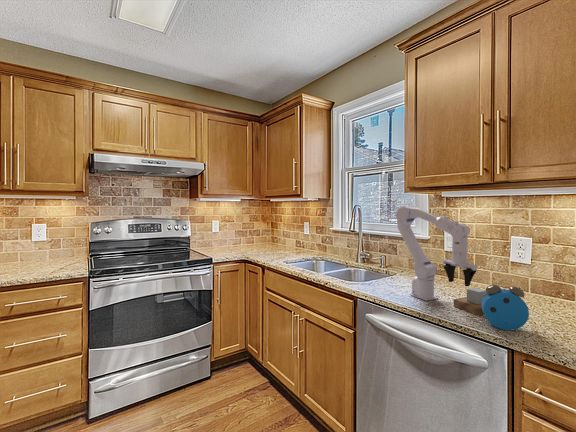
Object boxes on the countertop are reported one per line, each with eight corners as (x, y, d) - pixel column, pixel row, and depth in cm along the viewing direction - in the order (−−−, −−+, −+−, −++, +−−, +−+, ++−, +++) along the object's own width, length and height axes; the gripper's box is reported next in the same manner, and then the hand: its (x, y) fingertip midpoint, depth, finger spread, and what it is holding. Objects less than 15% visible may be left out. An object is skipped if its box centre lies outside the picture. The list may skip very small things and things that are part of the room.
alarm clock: (523, 327, 110) (525, 285, 109) (529, 334, 104) (530, 290, 103) (480, 321, 115) (481, 281, 114) (483, 328, 110) (484, 286, 109)
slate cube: (466, 300, 130) (466, 289, 130) (474, 299, 132) (474, 287, 132) (478, 304, 126) (478, 292, 125) (486, 302, 128) (486, 290, 127)
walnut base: (453, 306, 132) (453, 299, 132) (472, 302, 137) (472, 295, 137) (481, 315, 121) (481, 308, 121) (500, 311, 126) (500, 304, 126)
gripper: (438, 250, 138) (438, 280, 138) (469, 255, 124) (468, 289, 125) (449, 249, 140) (449, 279, 141) (480, 254, 127) (480, 287, 128)
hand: (459, 283), depth 133 cm, fingers open, 7 cm apart
